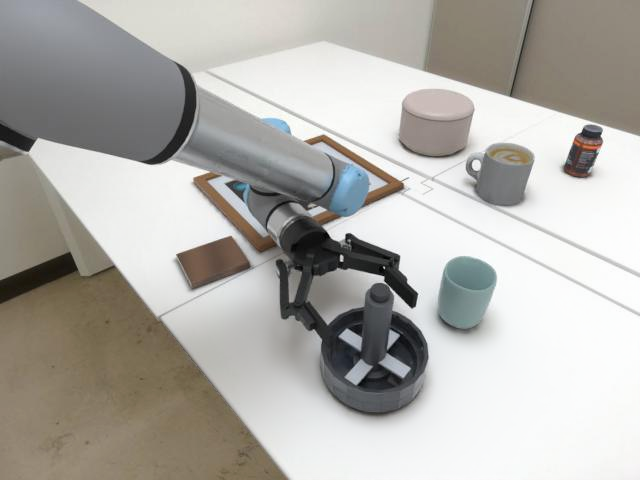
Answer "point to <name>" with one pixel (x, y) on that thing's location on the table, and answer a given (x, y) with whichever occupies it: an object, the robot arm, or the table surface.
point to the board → (212, 261)
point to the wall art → (234, 208)
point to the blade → (375, 340)
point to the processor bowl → (392, 388)
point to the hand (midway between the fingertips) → (375, 320)
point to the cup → (465, 291)
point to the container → (435, 121)
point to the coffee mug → (502, 172)
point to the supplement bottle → (584, 151)
